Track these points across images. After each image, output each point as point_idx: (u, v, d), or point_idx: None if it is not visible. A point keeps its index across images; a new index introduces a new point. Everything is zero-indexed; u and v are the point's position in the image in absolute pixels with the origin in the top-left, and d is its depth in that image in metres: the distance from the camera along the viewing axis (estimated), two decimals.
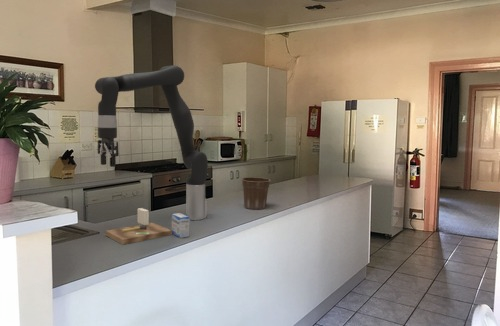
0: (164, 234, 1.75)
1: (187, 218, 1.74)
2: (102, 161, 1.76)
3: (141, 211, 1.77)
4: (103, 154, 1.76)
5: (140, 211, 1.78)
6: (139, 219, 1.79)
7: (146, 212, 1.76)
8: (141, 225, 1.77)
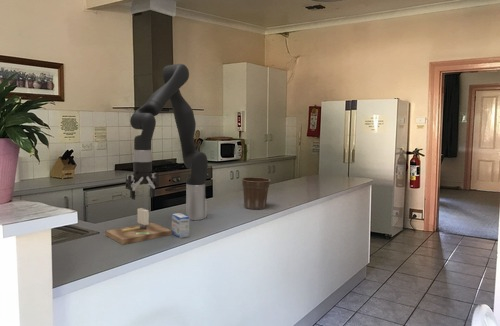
0: (164, 234, 1.75)
1: (187, 218, 1.74)
2: None
3: (141, 211, 1.77)
4: None
5: (140, 211, 1.78)
6: (139, 219, 1.79)
7: (146, 212, 1.76)
8: (141, 225, 1.77)
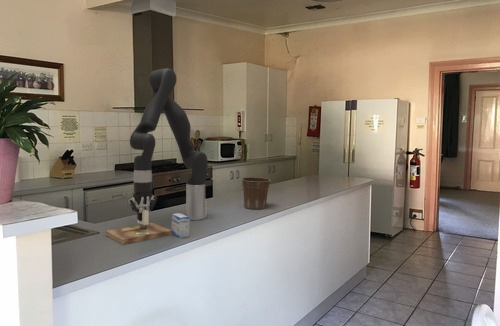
0: (164, 234, 1.75)
1: (187, 218, 1.74)
2: None
3: None
4: None
5: None
6: None
7: (146, 212, 1.76)
8: (141, 225, 1.77)
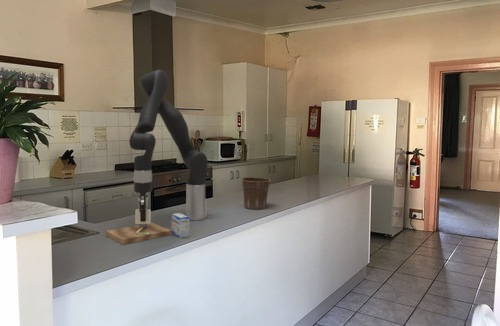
0: (164, 234, 1.75)
1: (187, 218, 1.74)
2: None
3: None
4: None
5: None
6: (139, 220, 1.77)
7: (150, 211, 1.78)
8: (144, 225, 1.77)
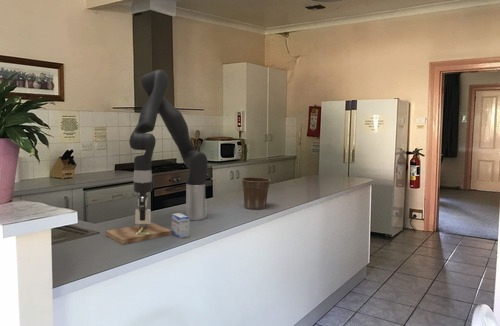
0: (164, 234, 1.75)
1: (187, 218, 1.74)
2: None
3: None
4: None
5: None
6: (139, 220, 1.77)
7: (150, 211, 1.78)
8: (144, 225, 1.78)
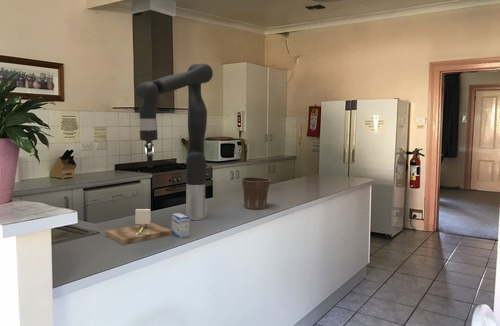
0: (164, 234, 1.75)
1: (187, 218, 1.74)
2: None
3: (143, 211, 1.77)
4: None
5: (142, 211, 1.77)
6: (139, 220, 1.77)
7: (150, 211, 1.78)
8: (144, 225, 1.78)
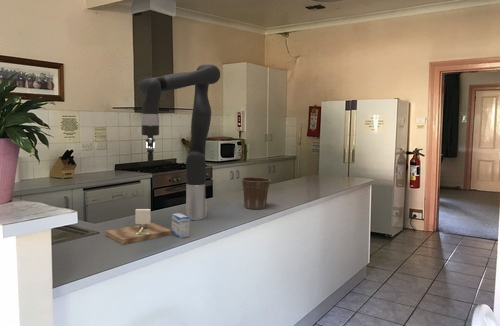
0: (164, 234, 1.75)
1: (187, 218, 1.74)
2: None
3: (143, 211, 1.77)
4: None
5: (142, 211, 1.77)
6: (139, 220, 1.77)
7: (150, 211, 1.78)
8: (144, 225, 1.78)
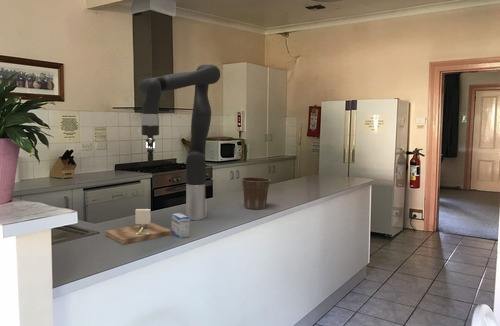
0: (164, 234, 1.75)
1: (187, 218, 1.74)
2: None
3: (143, 211, 1.77)
4: None
5: (142, 211, 1.77)
6: (139, 220, 1.77)
7: (150, 211, 1.78)
8: (144, 225, 1.78)
